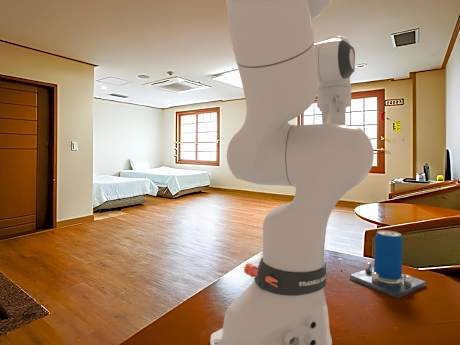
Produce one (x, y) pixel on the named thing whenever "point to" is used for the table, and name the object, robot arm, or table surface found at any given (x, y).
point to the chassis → (387, 282)
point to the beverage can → (388, 255)
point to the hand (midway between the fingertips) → (332, 150)
